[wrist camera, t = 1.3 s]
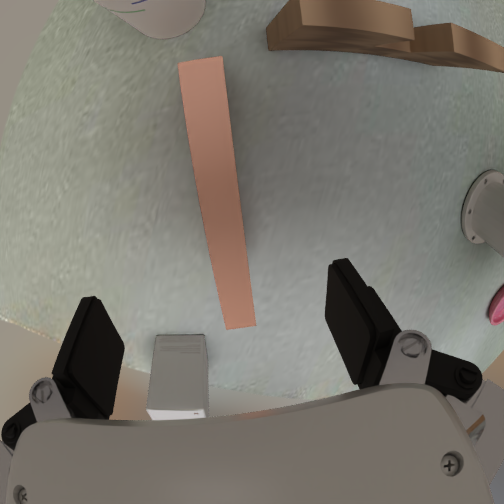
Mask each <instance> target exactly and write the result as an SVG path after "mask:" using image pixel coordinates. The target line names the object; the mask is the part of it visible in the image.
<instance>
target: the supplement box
mask: <svg viewBox="0 0 504 504" xmlns="http://www.w3.org/2000/svg"><path fill="white" fill-rule="evenodd" d="M208 391H209V390H208V358H207V350H206V344H205V337H204V335H158V336H156V341H155V347H154V353H153V360H152V367H151V374H150V383H149V390H148V398H147V407H146V410H147V412H148V413H149V415H150V416H151V418H152V420H177V419H194V418H207V417H209V394H208V393H209V392H208Z"/></svg>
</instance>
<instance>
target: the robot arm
mask: <svg viewBox="0 0 504 504" xmlns="http://www.w3.org/2000/svg"><path fill="white" fill-rule="evenodd" d="M462 229H463V232H464V235H465V236H466V238H467V239H468V240H469V241H471V242H472V243H474V244H481V243H484V242H486V243H487V244H489V245H490V246H491V247H492V248H493V249H494V250H496V251H497V252H498V253H499V254H500V255H501V256H502V257H504V175H503V174H501V173H500V172H498V171H495V170H490V171H487V172H485V173H483V174H482V175H481V176H480V177H479V178H477V180H476V181H475V182H474V184H473V185H472V187H471V188H470V190H469V192H468V195H467V197H466V200H465V203H464V207H463V211H462ZM325 319H326V322H327V324H328V327H329V329H330V331H331V333H332V336H333V338H334V340H335V343H336V345H337V347H338V350H339V352H340V354H341V356H342V359H343V361H344V363H345V366H346V368H347V371H348V373H349V375H350V378H351V380H352V382H353V384H354V385H356V384H358V386H359V389H360V390H356V391H351V392H348V393H344V394H340V395H336V396H332V397H328V398H323V399H319V400H314V401H310V402H305V403H301V404H296V405H291V406H286V407H281V408H275V409H269V410H263V411H256V412H250V413H243V414H235V415H226V416H217V417H207V418H194V419H177V420H146V421H145V420H143V421H142V420H138V421H135V420H134V421H133V420H109V416H110V415H112V413H113V407H114V402H115V396H116V390H117V384H118V379H119V374H120V369H121V364H122V359H123V355H124V349H125V348H124V343H123V341H122V339H121V337H120V336H119V334H118V332H117V330H116V328H115V326H114V325H113V323H112V321H111V319H110V317H109V315H108V313H107V311H106V309H105V307H104V306H103V304H102V302H101V300H100V299H97V297H95V296H91V297H83V298H82V299H81V301H80V303H79V306H78V308H77V310H76V312H75V315H74V317H73V319H72V321H71V324H70V326H69V329H68V331H67V333H66V336H65V338H64V341H63V343H62V346H61V349H60V351H59V354H58V356H57V360H56V362H55V365H54V368H53V370H52V374H53V377H52V379H51V378H48V377H45V378H41V379H39V380H37V381H36V382H35V383H34V384H33V386H32V387H31V389H30V392H29V400H30V403H29V404H28V405H26V406H25V407H24V408H23V409H21V410H20V411H19V412H17V413H16V414H15V415H14V416H12V417H11V418H10V419H9V420H7V421H6V422H5V424H4V426H3V428H2V434H1V435H2V441H1V440H0V504H494V500H493V497H492V494H491V490H490V487H489V485H490V484H491V482H492V480H493V478H494V477H495V475H496V473H497V471H498V470H499V468H500V466H501V464H502V462H503V460H504V389H502V388H501V387H499V386H498V385H496V384H495V383H493V382H491V381H490V380H488V379H487V381H484V380H483V379H482V374H481V371H480V370H479V368H478V367H477V366H476V365H475V364H473V363H471V362H469V361H465V360H462V359H459V358H456V357H453V356H450V355H447V354H444V353H441V352H438V351H435V350H432V348H431V343H430V340H429V339H428V338H427V336H426V335H424V334H423V333H421V332H419V331H416V330H405V331H401V329H400V328H399V326H398V325H397V323H396V322H395V320H394V319H393V317H392V315H391V314H390V312H389V311H388V309H387V308H386V306H385V305H384V303H383V302H382V301H381V299H380V298H379V296H378V295H377V293H376V292H375V290H374V289H373V288H372V287H370V286H368V287H367V285H366V284H365V282H364V281H363V279H362V278H361V276H360V275H359V273H358V272H357V271H356V269H355V268H354V266H353V265H352V263H351V262H350V261H349V259H348V258H344V259H338V260H334V261H333V262H332V264H330V265H329V267H328V281H327V294H326V306H325Z"/></svg>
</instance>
